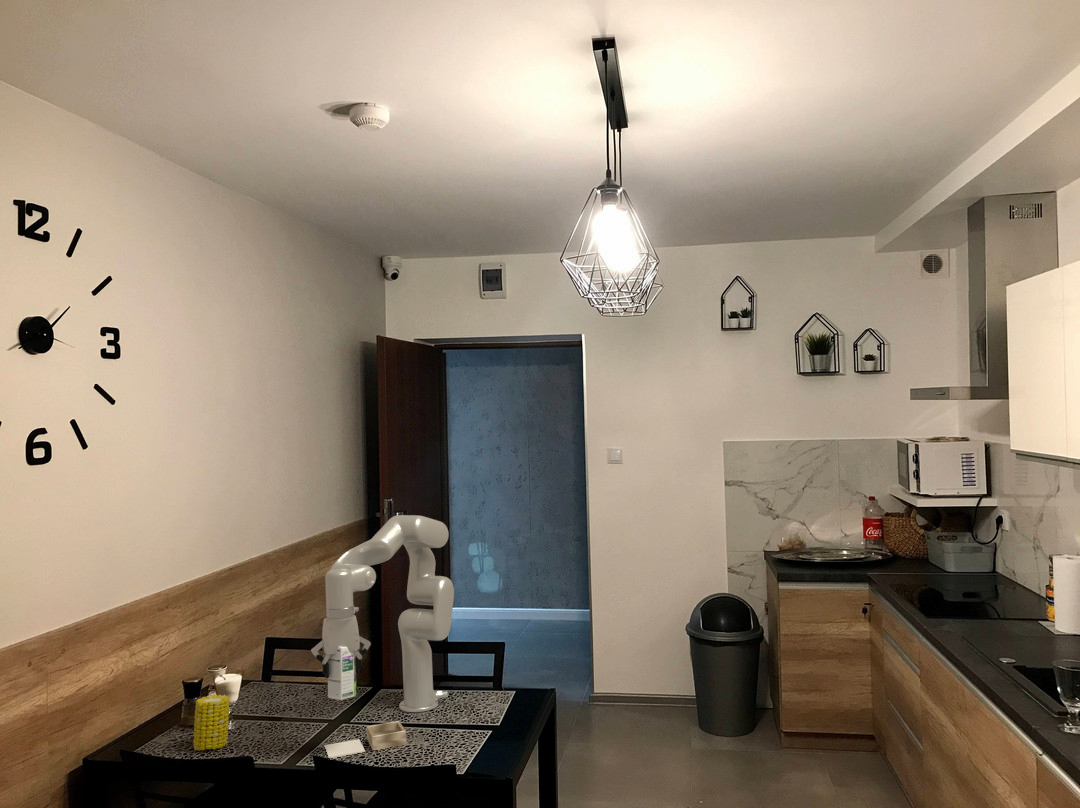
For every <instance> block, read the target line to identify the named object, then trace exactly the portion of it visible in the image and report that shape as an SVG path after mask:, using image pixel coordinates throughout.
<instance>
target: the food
mask: <svg viewBox="0 0 1080 808" xmlns="http://www.w3.org/2000/svg"><path fill="white" fill-rule="evenodd" d="M229 716H230V697H229V696H228V695H226V694H222V695H221V694H216V693H214V694H212V695H211V694H209V695H207V696H202V697H201V698H198V699H197V700H196V702H195V710H194V717H193V718H194V723H193V726H194V728H193V731H194V732H193V739H192V742H193V749H194V750H195V751H196V750H197V751H206V750H211V749H212V750H216V749H218V750H219V748H220V749H222V748H224V747H225V746H226V745H227V744H228V739H229V738H228V736H229V731H228V730H229V724H230V723H229V722H230V721H229V719H230V718H229ZM223 746H224V747H223ZM221 747H222V748H221Z"/></svg>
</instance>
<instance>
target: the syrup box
mask: <svg viewBox="0 0 1080 808" xmlns="http://www.w3.org/2000/svg"><path fill="white" fill-rule="evenodd" d="M327 662H328V665H329V678H327V698H328V699H332V700H335V701H336V700H337V701H343V700H346V699H350V698H353V697H357V673H356V655H355V654H354V652H349V650H348V648H347V647H338V649H337V654H335V655H331V656H330V658H329V659H328V661H327Z"/></svg>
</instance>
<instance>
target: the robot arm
mask: <svg viewBox="0 0 1080 808" xmlns="http://www.w3.org/2000/svg"><path fill="white" fill-rule="evenodd" d="M449 535H450V534H449V530H448V527H447V525H446V524H445V523H444V522H443V521H440V520H437V519H433V518H430V517H428V516H427V517H426V516H423V515H414V514H411V515H406V514H400V515H394V516H392V517H391V518H389V519H388V520H387V521H386V523H384V525H382V527H381V528H380V529H379V530H378V531H377V532H376V533H375V534H374V536H372V538H371V539H369V540H367V541H365V542H363V543H362V542H361V544H359V545H357V546H355V547H353V548H350V549H348V550H347V551H345V552H344V553H342V555H340V557H338V558H337V560H336V561H335V562H334V563H333V564H332V566H330V569H329V570H328V571H326V573H325V579H324V580H325V602H326V603H325V605H326V617H325V618H324V619H323V622H322V636H321V638H322V640H320V642H318V643H317V644H316V645H315V646H314V647H312V648H311V650H310V651H311V653H312V655H313V656H314V657H315V658H316V660H318V661H319V662H320V663H321V664H322V676H323V675H324V677H325V679H328V678H329V665H328V659H329V658H330V656H331V655H335V654H337V649H338V647H347V648H348V650H349V652H354V654H355V655H356V675H357V674H358V675H359V674H360V670H362V659H363V656H365V655H366V653H367V651H368V650H369V648H370V647H371V645H372V643H371V641H369V640H368V639H366V638H363V636H360V633H359V631H360V630H359V626H358V624H359V623H358V620H357V616H356V615H355V613H357V612H359V610H360V609H359V608H360V607H359V606H355V605H354V593H355V592H364V591H367V590H369V589H371V588H372V587H373V586H374V584H375V583H376V579H377V573H376V571H375V569H374V568H373V567H371V566H375V565H378V564H381V563H385V562H386V561H389V560H390V559H392V557H393V556H394V555H395V554H396V553H397V552H398V551H399V549H400V548H401V547H402V545H403V546H404V547H405V551H407V554H408V557H409V569H408V570H409V571H408V577H407V578H408V579H407V586H406V587H407V589H406V598H407V600H408V602H410V604H414V605H421V606H433V609H426V608H408V609H406V610H403V611H402V612H401V614H400V615H399V618H398V620H397V621H398V622H397V626H398V632H399V636H400V640H401V641H400V642H401V652H402V653H401V654H402V682H403V683H402V684H403V700H402V701H400V703H399V707H398V708H399V710H401V711H403V712H407V713H423V712H427V711H430V710H434V709H435V708H437V707H438V706H439V699H444V698H448V695H449V693H448V690H445V691H442V690H437V691H435V690H434V683H433V682H434V680H433V678H434V677H433V656H432V655H433V652H432V648H431V645H430V643H429V641H443V640H445V639H446V638H447V637H448V635H449V634H450V632H451V631H450V630H451V626H452V617H453V608H454V600H455V588H454V587H455V586H454V584H453V581H452V580H451V579H450V578H449V577H447V576H443V575H442V576H441V575H436V573H435V572H436V565H437V564H436V559H435V555H434V553H433V551H432V550H431V549H434V548H435V549H440V548H442V547H444V546H445V545H446V544H447V542H448V540H449ZM360 643H362V644H363V647H362V648H361V649H360V647H361V645H360ZM321 649H322V652H323V653H324V654H323V656H322V655H321V654H320V653H319V650H321ZM359 650H360V651H359Z"/></svg>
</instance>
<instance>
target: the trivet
mask: <svg viewBox="0 0 1080 808" xmlns="http://www.w3.org/2000/svg"><path fill="white" fill-rule="evenodd" d="M324 747H325V748H324ZM323 748H324V750H325V749H326V751H325V753H326V752H327V753H326V756H327V755H328V756H327V758H333V759H332V760H335V759H338V758H337V757H341V758H343V757H342V756H346V755H352V754H357V753H362V752H365V753H366V750H365V748H364V746H363V743H362V742H361V740H360V739H359V738H358V739H353V740H348V741H341V742H340V741H339V742H336V743H330V744H324V746H323ZM352 756H353V755H352Z"/></svg>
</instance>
